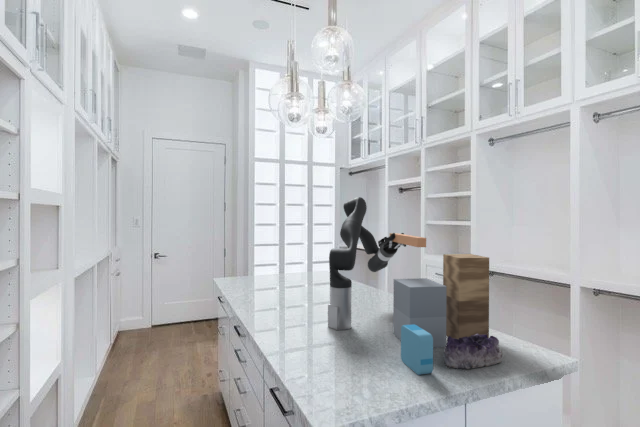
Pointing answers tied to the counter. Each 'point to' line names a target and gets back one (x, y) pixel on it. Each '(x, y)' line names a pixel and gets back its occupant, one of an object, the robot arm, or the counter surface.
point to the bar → (409, 240)
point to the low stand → (420, 307)
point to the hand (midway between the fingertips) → (398, 234)
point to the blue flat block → (417, 349)
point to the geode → (471, 352)
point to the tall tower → (466, 294)
